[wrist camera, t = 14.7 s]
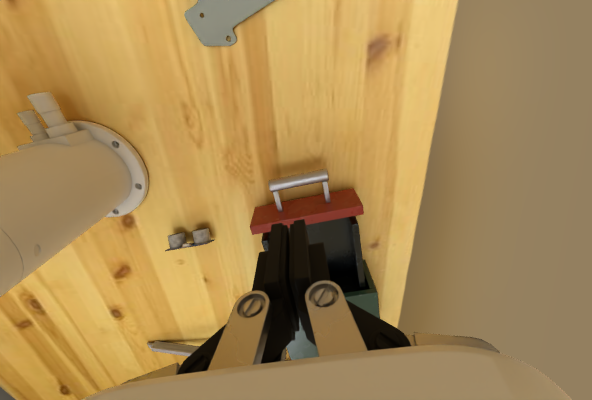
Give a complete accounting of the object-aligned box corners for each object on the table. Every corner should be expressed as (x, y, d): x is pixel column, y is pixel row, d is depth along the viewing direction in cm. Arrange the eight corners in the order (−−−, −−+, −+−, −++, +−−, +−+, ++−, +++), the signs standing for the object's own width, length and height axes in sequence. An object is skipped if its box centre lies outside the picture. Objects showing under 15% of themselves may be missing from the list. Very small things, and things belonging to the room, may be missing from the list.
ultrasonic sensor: (214, 226, 37) (204, 229, 34) (217, 241, 37) (207, 246, 34) (176, 233, 38) (162, 237, 34) (179, 248, 38) (165, 253, 34)
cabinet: (274, 274, 41) (272, 309, 35) (364, 259, 39) (377, 292, 34) (297, 341, 48) (297, 378, 43) (372, 330, 47) (384, 366, 41)
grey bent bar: (253, 334, 47) (248, 369, 42) (254, 337, 48) (249, 373, 42) (148, 340, 48) (128, 376, 42) (150, 344, 48) (131, 380, 43)
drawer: (245, 178, 32) (238, 194, 28) (350, 156, 31) (359, 170, 27) (283, 292, 41) (282, 318, 37) (364, 279, 40) (372, 304, 36)
